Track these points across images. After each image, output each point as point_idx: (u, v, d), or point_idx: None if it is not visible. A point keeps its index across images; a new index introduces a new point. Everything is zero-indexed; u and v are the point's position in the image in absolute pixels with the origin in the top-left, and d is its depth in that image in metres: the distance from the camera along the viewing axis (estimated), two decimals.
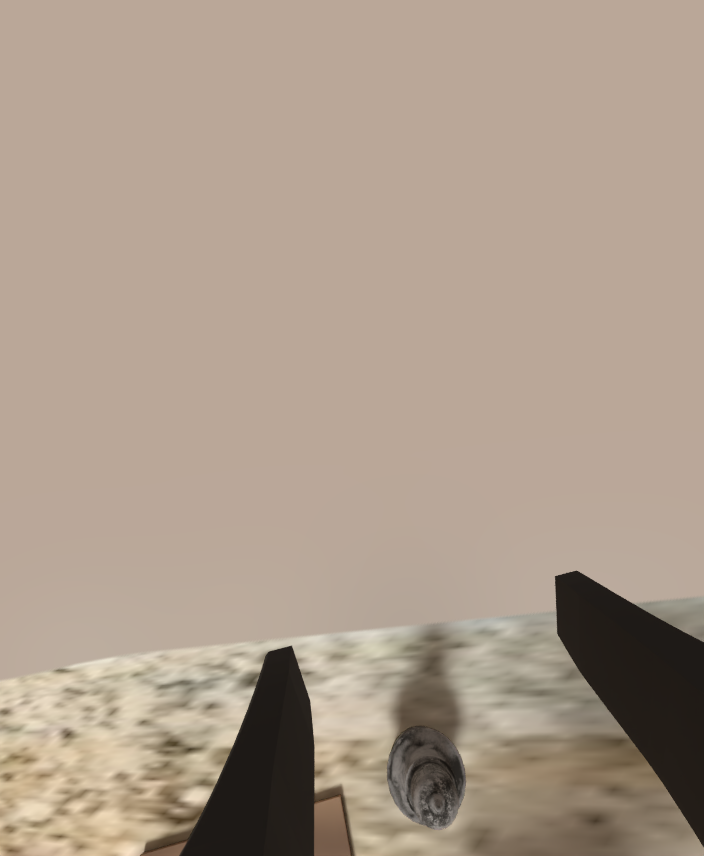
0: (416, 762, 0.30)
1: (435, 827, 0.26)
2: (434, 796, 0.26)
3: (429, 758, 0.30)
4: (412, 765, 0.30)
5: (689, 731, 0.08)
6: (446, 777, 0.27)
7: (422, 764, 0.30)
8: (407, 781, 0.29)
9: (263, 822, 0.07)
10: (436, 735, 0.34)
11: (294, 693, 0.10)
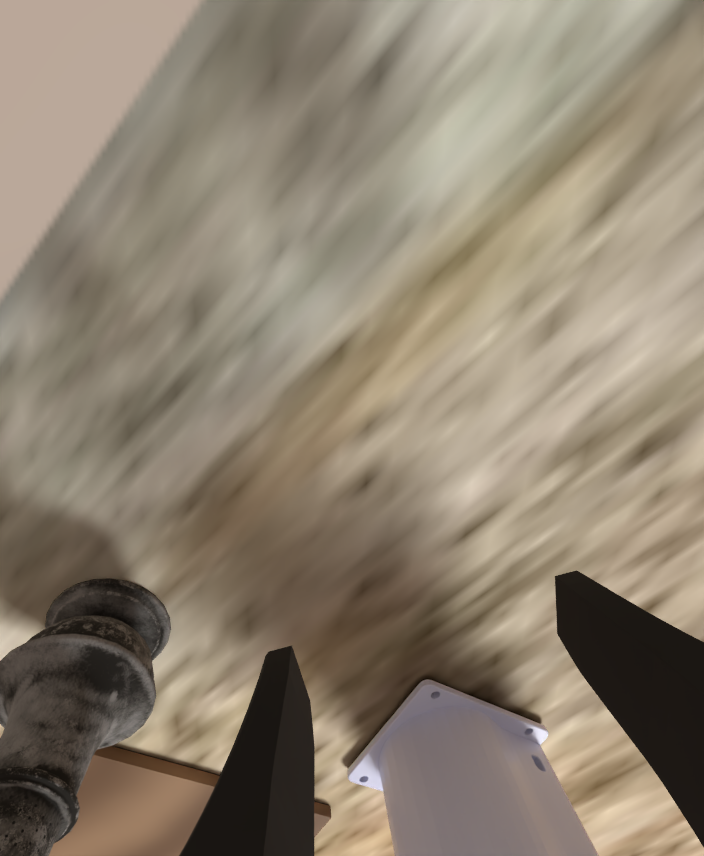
0: None
1: None
2: None
3: None
4: None
5: (689, 731, 0.08)
6: None
7: None
8: None
9: (263, 822, 0.07)
10: (29, 652, 0.16)
11: (294, 693, 0.10)
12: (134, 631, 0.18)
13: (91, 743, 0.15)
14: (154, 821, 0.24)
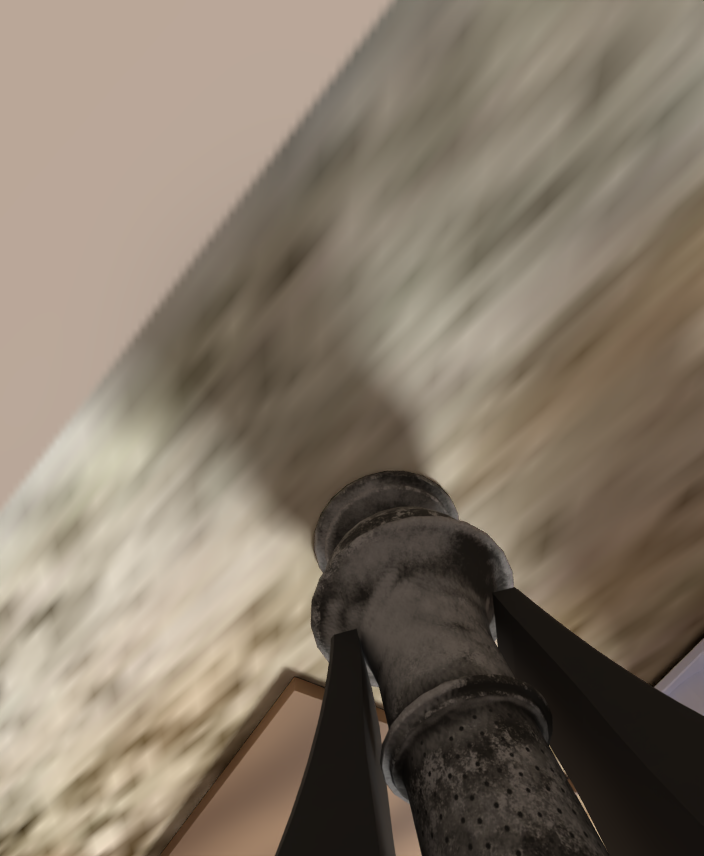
0: (391, 748, 0.08)
1: None
2: None
3: (420, 716, 0.08)
4: (385, 759, 0.08)
5: (599, 757, 0.08)
6: None
7: (410, 746, 0.08)
8: (399, 793, 0.09)
9: (367, 792, 0.07)
10: (386, 538, 0.11)
11: (365, 674, 0.10)
12: None
13: None
14: None
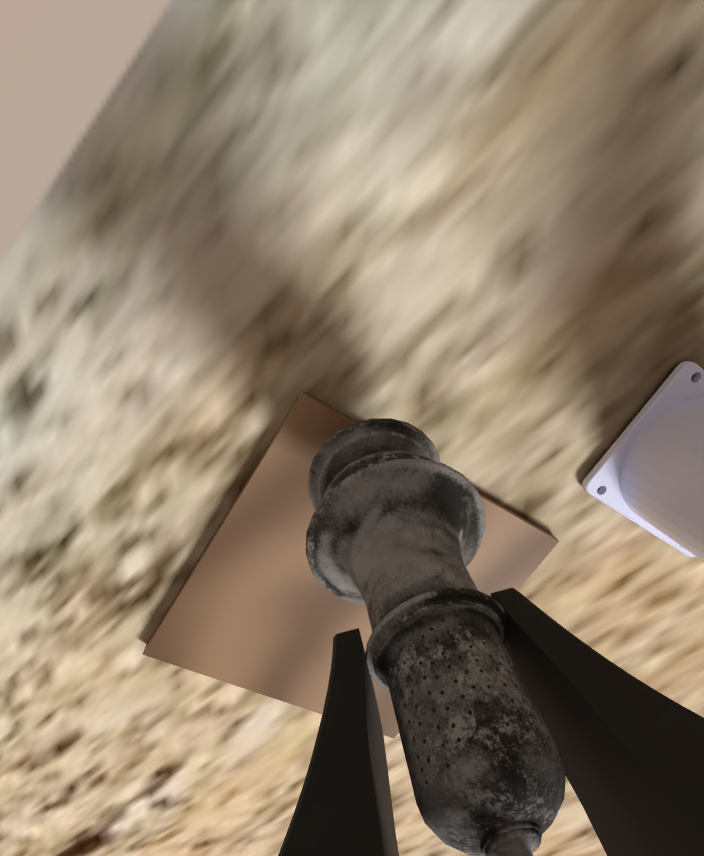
0: (374, 646, 0.10)
1: None
2: (496, 849, 0.07)
3: (398, 621, 0.10)
4: (369, 655, 0.10)
5: (597, 758, 0.08)
6: (493, 752, 0.07)
7: (390, 643, 0.10)
8: (381, 681, 0.10)
9: (371, 791, 0.07)
10: (372, 478, 0.12)
11: (367, 673, 0.10)
12: None
13: None
14: None
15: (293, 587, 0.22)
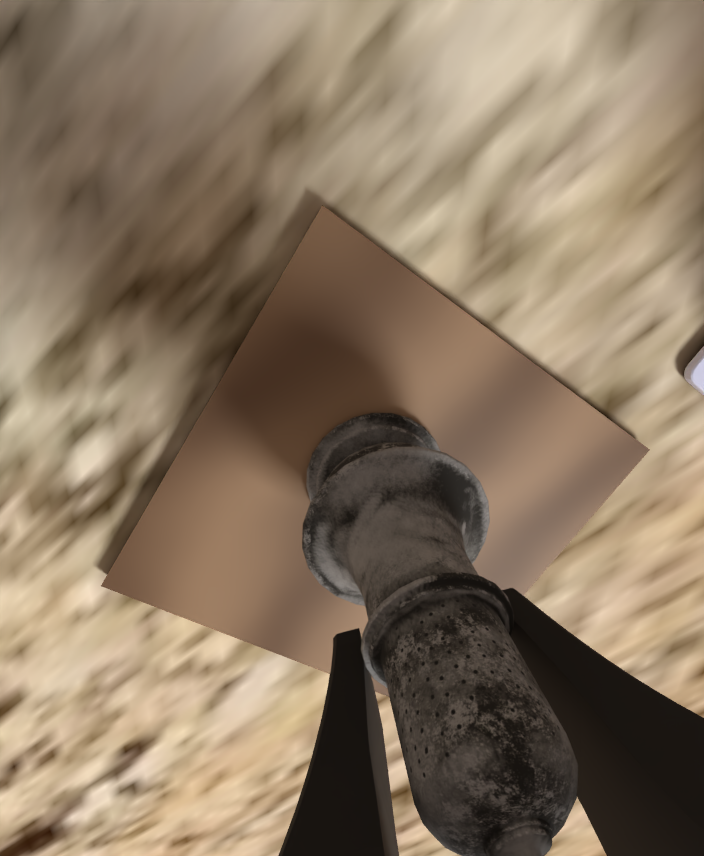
0: (370, 635, 0.09)
1: None
2: (501, 851, 0.06)
3: (395, 606, 0.09)
4: (365, 646, 0.09)
5: (597, 758, 0.08)
6: (497, 739, 0.07)
7: (388, 632, 0.09)
8: (378, 676, 0.10)
9: (371, 791, 0.07)
10: (371, 466, 0.12)
11: (367, 673, 0.10)
12: None
13: None
14: (427, 410, 0.16)
15: (302, 499, 0.17)
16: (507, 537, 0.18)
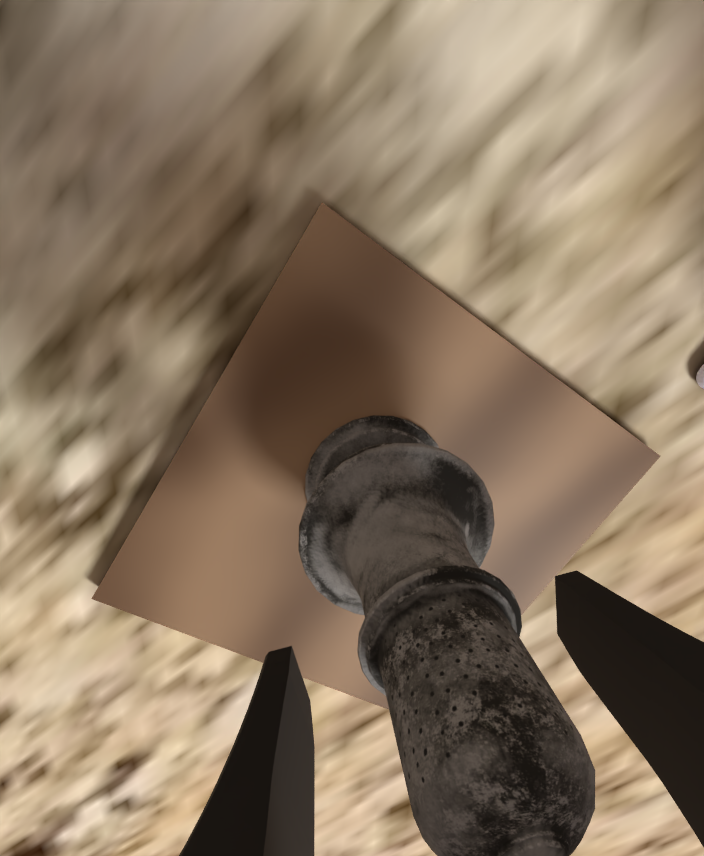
0: (367, 635, 0.09)
1: None
2: None
3: (393, 602, 0.08)
4: (362, 647, 0.09)
5: (689, 731, 0.08)
6: (503, 736, 0.06)
7: (385, 631, 0.09)
8: (376, 682, 0.09)
9: (263, 822, 0.07)
10: (369, 463, 0.12)
11: (294, 693, 0.10)
12: None
13: None
14: (430, 416, 0.15)
15: (301, 508, 0.16)
16: (513, 546, 0.18)
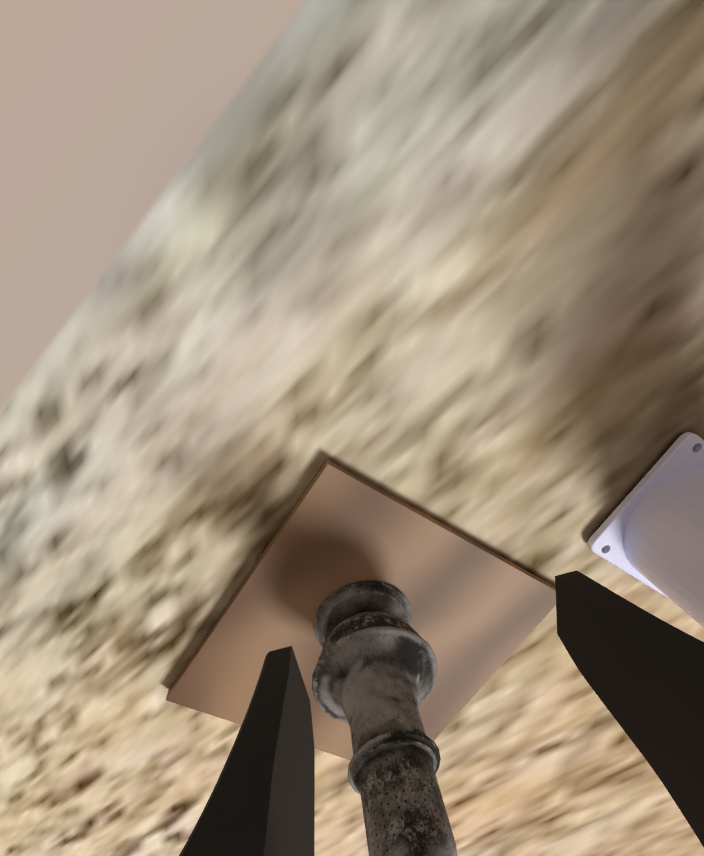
0: (353, 768, 0.16)
1: None
2: None
3: (367, 752, 0.16)
4: (350, 773, 0.16)
5: (689, 731, 0.08)
6: (411, 843, 0.13)
7: (362, 767, 0.16)
8: (358, 791, 0.16)
9: (263, 822, 0.07)
10: (356, 641, 0.19)
11: (294, 693, 0.10)
12: (409, 625, 0.21)
13: None
14: (400, 579, 0.23)
15: (311, 638, 0.23)
16: (461, 656, 0.25)
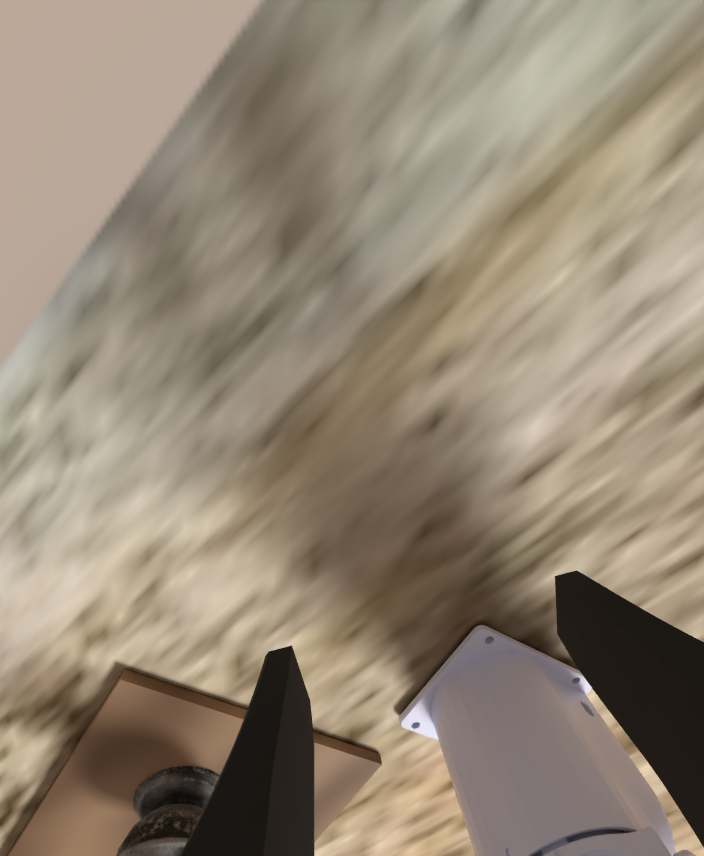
0: None
1: None
2: None
3: None
4: None
5: (689, 731, 0.08)
6: None
7: None
8: None
9: (263, 822, 0.07)
10: (137, 854, 0.20)
11: (294, 693, 0.10)
12: None
13: None
14: (212, 763, 0.24)
15: (133, 815, 0.25)
16: None
